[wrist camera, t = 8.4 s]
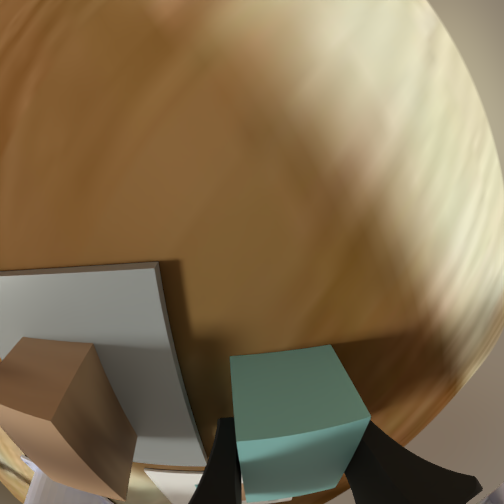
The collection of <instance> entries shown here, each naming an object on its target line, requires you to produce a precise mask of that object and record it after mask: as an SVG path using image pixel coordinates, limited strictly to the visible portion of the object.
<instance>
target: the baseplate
mask: <svg viewBox="0 0 504 504" xmlns="http://www.w3.org/2000/svg"><path fill="white" fill-rule="evenodd" d="M22 337H28V338H37V339H46V340H56V341H67V342H81V343H93V344H94V347H95V349H96V352H97V354H98V357H99V359H100V362H101V364H102V367H103V369H104V371H105V373H106V376H107V378H108V380H109V382H110V384H111V387H112V389H113V391H114V393H115V395H116V397H117V399H118V401H119V403H120V405H121V407H122V409H123V411H124V413H125V414H126V416H127V418H128V420H129V422H130V424H131V425H132V427H133V429H134V431H135V432H136V434H137V436H138V437H137V442H136V447H135V452H134V457H133V462H139V463H148V464H159V465H174V466H206V465H207V456H206V453H205V450H204V447H203V444H202V441H201V439H200V436H199V433H198V429H197V426H196V423H195V420H194V417H193V414H192V410H191V407H190V404H189V400H188V397H187V393H186V390H185V386H184V382H183V378H182V375H181V371H180V367H179V363H178V359H177V355H176V350H175V346H174V342H173V337H172V333H171V328H170V323H169V319H168V314H167V309H166V303H165V298H164V292H163V287H162V281H161V275H160V269H159V262H144V263H128V264H113V265H97V266H81V267H65V268H49V269H33V270H16V271H0V357H1V359H2V360H3V359H4V358H5V357H6V355H7V354H8V353H9V352H10V351H11V350H12V348H13V347H14V346H15V345H16V344H17V343H18V342H19V340H20V339H21V338H22Z"/></svg>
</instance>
